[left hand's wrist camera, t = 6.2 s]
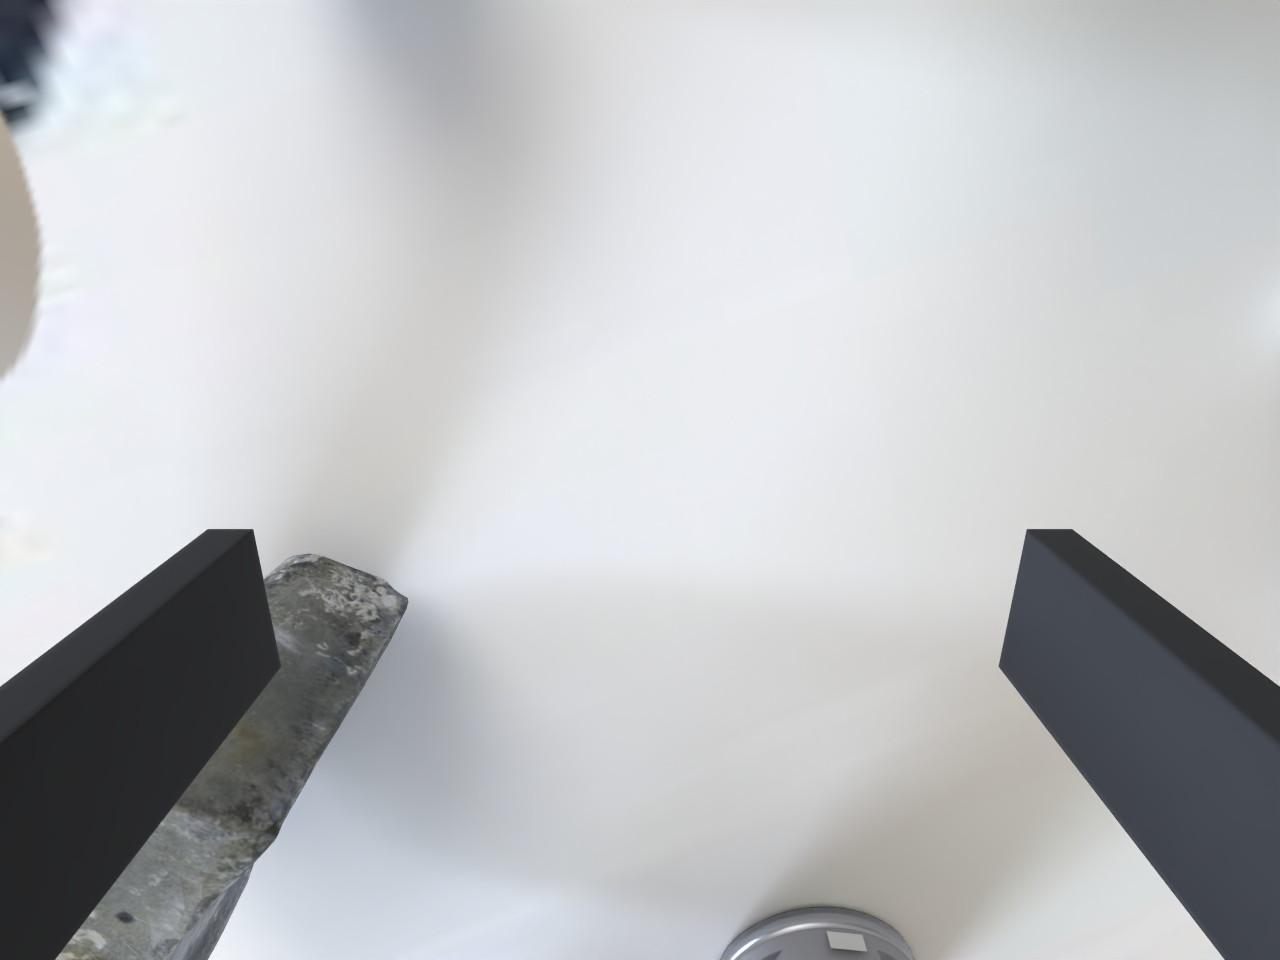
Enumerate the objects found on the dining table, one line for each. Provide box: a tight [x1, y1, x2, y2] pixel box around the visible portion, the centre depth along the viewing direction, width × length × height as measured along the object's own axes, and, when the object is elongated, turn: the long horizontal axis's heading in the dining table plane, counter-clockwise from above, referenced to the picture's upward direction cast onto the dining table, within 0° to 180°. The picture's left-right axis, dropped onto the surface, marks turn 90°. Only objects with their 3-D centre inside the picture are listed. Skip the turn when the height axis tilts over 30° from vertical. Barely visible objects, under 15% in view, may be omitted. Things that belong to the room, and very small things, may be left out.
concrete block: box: [55, 554, 408, 960], centre depth 38 cm, size 27×9×20 cm, turn 147°
